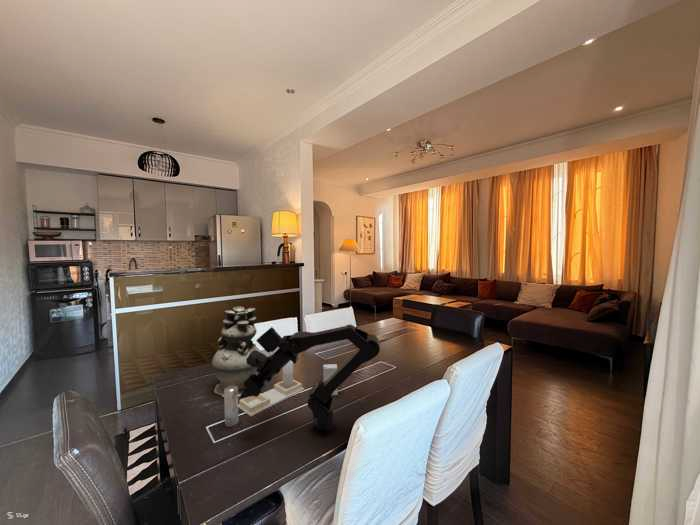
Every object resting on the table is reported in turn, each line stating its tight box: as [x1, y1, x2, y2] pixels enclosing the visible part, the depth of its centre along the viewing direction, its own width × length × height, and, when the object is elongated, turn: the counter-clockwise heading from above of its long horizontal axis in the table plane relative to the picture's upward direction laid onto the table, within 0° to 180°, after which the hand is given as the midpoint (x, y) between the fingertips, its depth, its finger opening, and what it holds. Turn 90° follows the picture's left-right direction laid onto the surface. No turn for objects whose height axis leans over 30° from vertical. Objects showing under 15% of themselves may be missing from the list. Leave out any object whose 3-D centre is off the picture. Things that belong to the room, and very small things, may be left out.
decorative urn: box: [211, 306, 262, 398], centre depth 125 cm, size 21×21×35 cm
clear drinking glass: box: [223, 385, 239, 427], centre depth 100 cm, size 4×4×12 cm
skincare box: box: [322, 363, 339, 396], centre depth 120 cm, size 6×4×12 cm
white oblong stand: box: [238, 360, 305, 417], centre depth 116 cm, size 10×25×13 cm, turn 140°
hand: (247, 390), depth 99 cm, fingers open, 9 cm apart
